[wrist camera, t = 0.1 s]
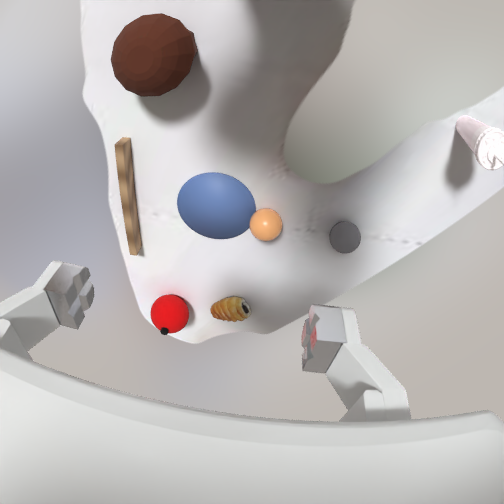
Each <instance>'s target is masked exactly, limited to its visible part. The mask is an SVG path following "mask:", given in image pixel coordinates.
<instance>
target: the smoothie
mask: <svg viewBox="0 0 504 504" xmlns="http://www.w3.org/2000/svg"><path fill="white" fill-rule="evenodd" d="M456 129H457V131H458V133H459V134H460V135H461V137H462V138H463V139H464V140H465V142H466V143H467V144H468V146H469V147H470V148H471V150H472V151H473V153H474V154H475V156H476V160H477V161H478V163H479V164H480V165H482V166H483V167H484V168H485V169H487V170H496V169H498V168H500V167H501V166H503V165H504V132H503V131H502V130H500V129H498V128H493V127H490V126H488V125H486V124H485V123H483V122H481V121H478V120H476V119H474V118H472V117H470V116H468V115H463V116H461V117H459V119H458V120H457V123H456Z"/></svg>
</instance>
